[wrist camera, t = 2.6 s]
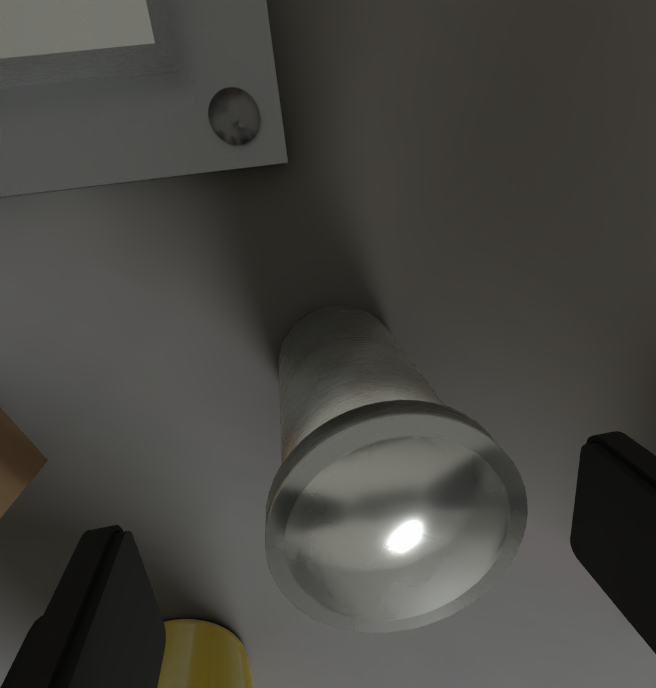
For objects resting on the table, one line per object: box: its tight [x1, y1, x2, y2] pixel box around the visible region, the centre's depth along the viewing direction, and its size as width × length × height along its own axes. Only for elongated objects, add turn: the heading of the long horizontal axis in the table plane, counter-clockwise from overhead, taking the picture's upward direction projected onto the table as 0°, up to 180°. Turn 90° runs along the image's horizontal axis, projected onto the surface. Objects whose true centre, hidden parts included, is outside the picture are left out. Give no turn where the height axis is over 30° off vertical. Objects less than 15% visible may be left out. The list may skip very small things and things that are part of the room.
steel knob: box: [265, 305, 527, 633], centre depth 14 cm, size 6×6×10 cm
